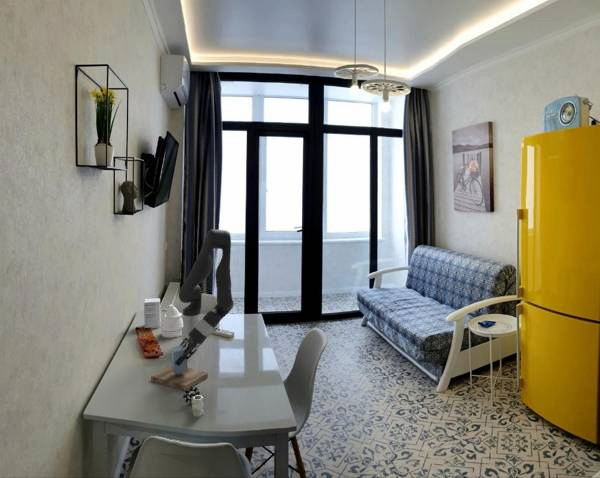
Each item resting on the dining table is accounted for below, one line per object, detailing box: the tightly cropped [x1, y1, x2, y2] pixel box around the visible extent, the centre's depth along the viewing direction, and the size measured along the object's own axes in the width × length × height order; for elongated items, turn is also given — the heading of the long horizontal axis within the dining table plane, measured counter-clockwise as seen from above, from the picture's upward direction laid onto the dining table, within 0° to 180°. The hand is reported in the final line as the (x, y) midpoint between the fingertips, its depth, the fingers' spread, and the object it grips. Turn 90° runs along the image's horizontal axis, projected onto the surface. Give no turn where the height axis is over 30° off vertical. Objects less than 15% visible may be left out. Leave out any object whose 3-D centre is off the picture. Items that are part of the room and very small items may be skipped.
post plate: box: [150, 365, 209, 391], centre depth 174 cm, size 20×14×6 cm
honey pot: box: [161, 304, 183, 339], centre depth 232 cm, size 13×13×18 cm
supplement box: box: [143, 297, 162, 329], centre depth 246 cm, size 10×9×17 cm
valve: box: [182, 386, 205, 417], centre depth 149 cm, size 7×7×12 cm
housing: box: [170, 345, 189, 374], centre depth 173 cm, size 6×6×10 cm
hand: (175, 362), depth 172 cm, fingers closed on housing, 5 cm apart
